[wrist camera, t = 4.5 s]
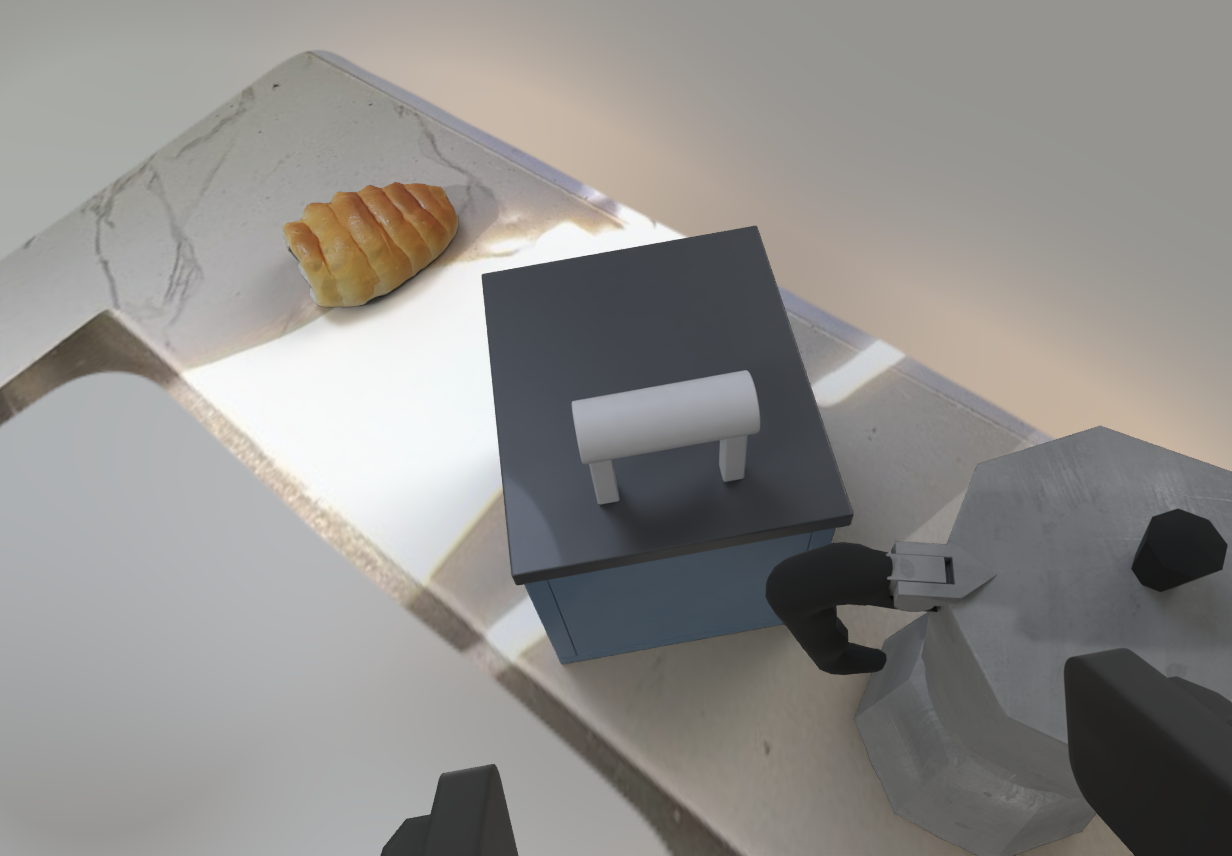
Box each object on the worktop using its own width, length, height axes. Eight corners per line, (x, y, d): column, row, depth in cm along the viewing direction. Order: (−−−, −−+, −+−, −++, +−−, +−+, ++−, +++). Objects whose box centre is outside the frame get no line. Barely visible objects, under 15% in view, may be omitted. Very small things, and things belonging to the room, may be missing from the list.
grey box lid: (850, 526, 28) (881, 433, 23) (515, 586, 28) (476, 505, 23) (756, 239, 34) (764, 121, 30) (485, 287, 34) (450, 176, 29)
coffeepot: (1132, 626, 36) (1448, 370, 21) (1185, 885, 31) (1647, 801, 16) (749, 600, 38) (779, 348, 23) (742, 840, 33) (775, 726, 18)
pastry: (430, 185, 53) (412, 134, 50) (483, 253, 50) (468, 203, 47) (286, 256, 51) (258, 208, 48) (331, 332, 48) (304, 286, 45)
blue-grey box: (809, 619, 37) (843, 504, 28) (561, 665, 37) (513, 563, 28) (745, 395, 43) (755, 240, 34) (532, 433, 43) (485, 288, 34)
